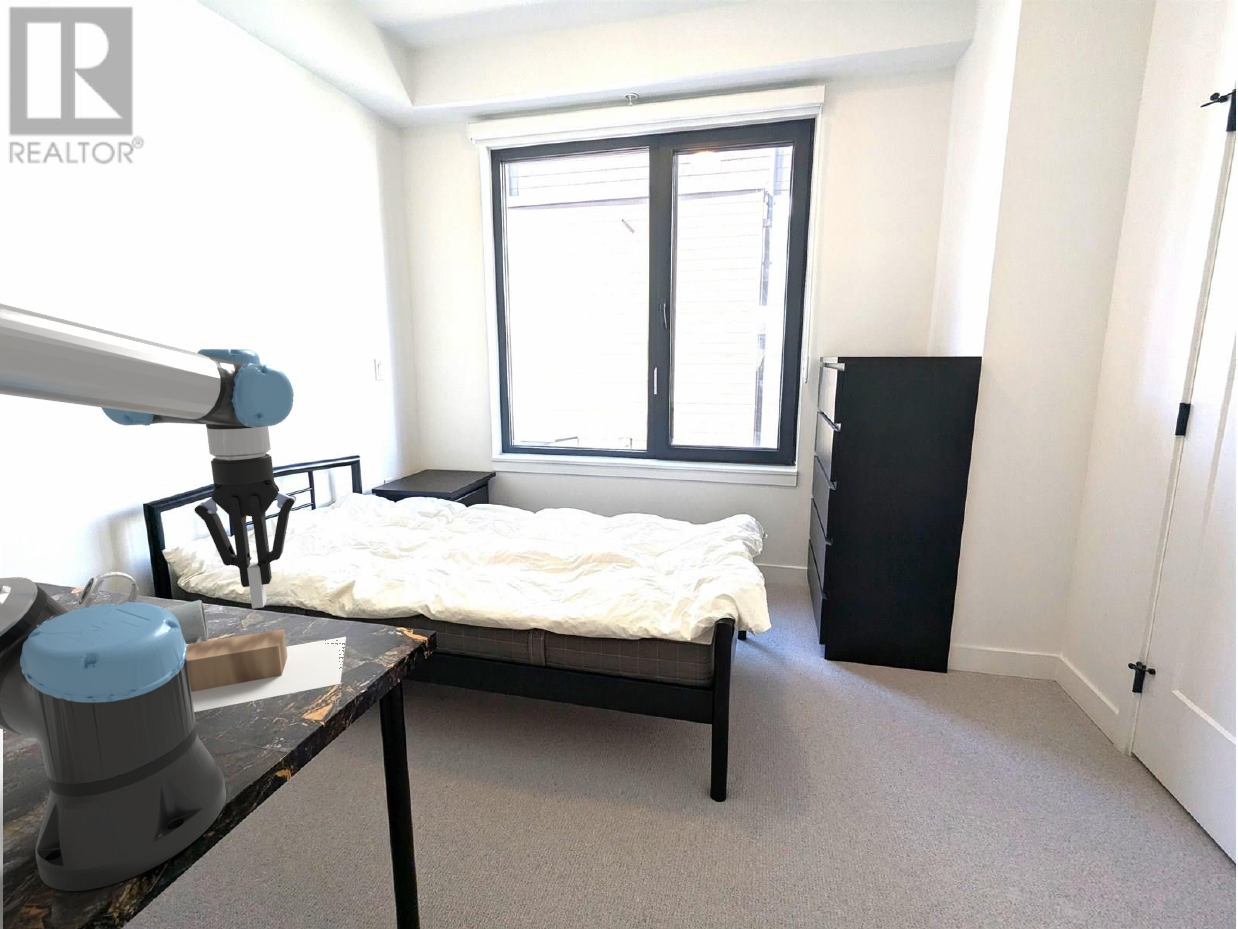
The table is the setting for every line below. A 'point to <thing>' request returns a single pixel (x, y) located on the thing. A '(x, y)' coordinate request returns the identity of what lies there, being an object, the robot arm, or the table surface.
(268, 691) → the white mat
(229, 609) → the table surface
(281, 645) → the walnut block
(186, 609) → the ceramic mug
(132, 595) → the watch
